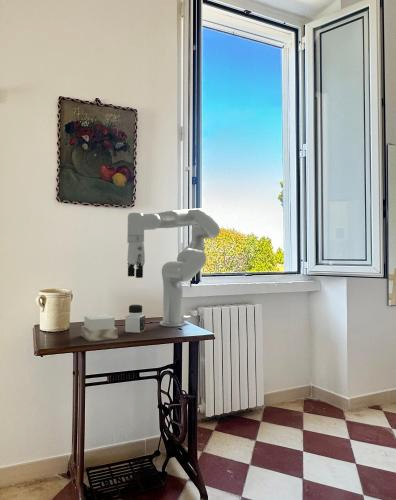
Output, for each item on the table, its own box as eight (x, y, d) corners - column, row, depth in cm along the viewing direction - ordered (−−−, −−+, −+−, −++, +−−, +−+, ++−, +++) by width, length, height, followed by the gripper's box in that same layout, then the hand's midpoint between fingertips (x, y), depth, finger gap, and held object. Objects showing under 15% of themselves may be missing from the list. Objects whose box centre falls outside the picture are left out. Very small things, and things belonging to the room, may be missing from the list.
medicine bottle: (140, 333, 172) (140, 306, 172) (125, 332, 174) (125, 305, 174) (145, 329, 179) (145, 304, 179) (130, 329, 181) (131, 303, 181)
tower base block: (108, 333, 172) (108, 323, 172) (117, 339, 162) (117, 328, 162) (81, 336, 166) (81, 326, 166) (89, 342, 155) (89, 331, 155)
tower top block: (107, 324, 170) (107, 314, 170) (114, 328, 162) (114, 317, 162) (84, 326, 165) (84, 315, 165) (90, 330, 157) (90, 319, 157)
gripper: (150, 239, 171) (150, 278, 171) (136, 240, 186) (135, 275, 186) (135, 239, 167) (134, 278, 167) (121, 239, 182) (120, 276, 182)
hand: (135, 277), depth 177 cm, fingers open, 9 cm apart
